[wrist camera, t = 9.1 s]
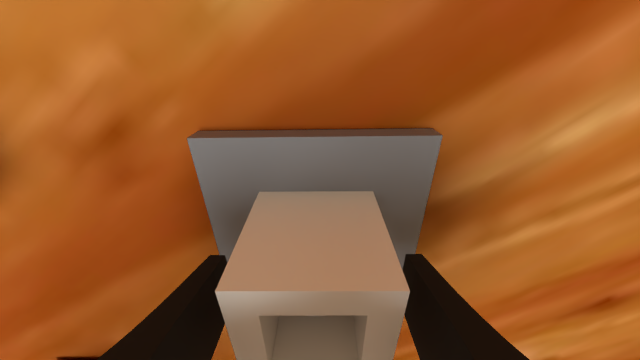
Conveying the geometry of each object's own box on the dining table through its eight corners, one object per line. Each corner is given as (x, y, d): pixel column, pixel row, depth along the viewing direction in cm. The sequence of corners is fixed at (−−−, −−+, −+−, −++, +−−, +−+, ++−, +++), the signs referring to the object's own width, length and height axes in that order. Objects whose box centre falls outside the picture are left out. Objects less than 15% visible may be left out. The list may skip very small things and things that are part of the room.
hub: (364, 271, 13) (386, 385, 8) (270, 271, 13) (244, 385, 9) (372, 191, 11) (410, 291, 6) (259, 191, 11) (214, 291, 6)
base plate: (399, 286, 15) (427, 372, 11) (238, 287, 15) (208, 372, 11) (432, 128, 10) (502, 176, 6) (198, 131, 10) (121, 180, 6)
